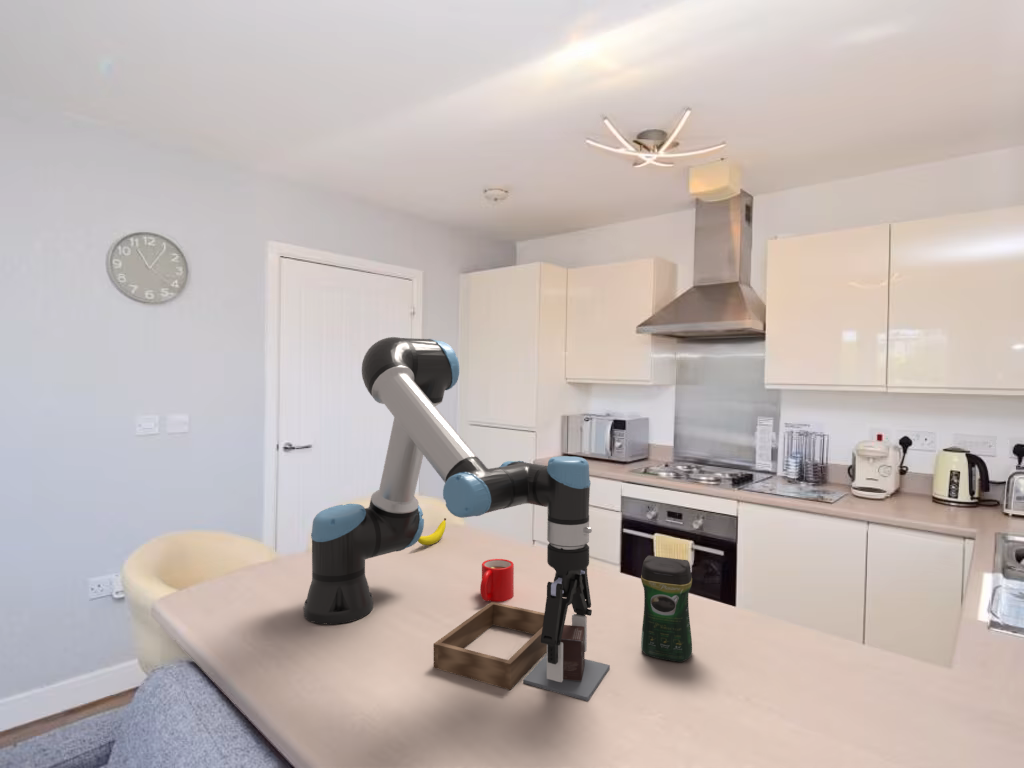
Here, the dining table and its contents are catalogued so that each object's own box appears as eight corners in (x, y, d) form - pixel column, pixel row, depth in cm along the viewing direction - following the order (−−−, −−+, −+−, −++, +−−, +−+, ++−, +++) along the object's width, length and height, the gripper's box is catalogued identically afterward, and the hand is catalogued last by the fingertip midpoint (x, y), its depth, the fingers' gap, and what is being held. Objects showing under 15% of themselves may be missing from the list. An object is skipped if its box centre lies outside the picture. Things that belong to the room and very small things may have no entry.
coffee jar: (694, 648, 113) (694, 555, 113) (689, 667, 106) (690, 568, 105) (645, 639, 117) (645, 549, 117) (637, 656, 110) (637, 560, 109)
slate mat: (523, 683, 100) (523, 679, 100) (550, 653, 111) (550, 650, 111) (587, 701, 94) (587, 697, 94) (609, 668, 105) (609, 665, 105)
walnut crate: (433, 667, 105) (433, 643, 105) (491, 622, 125) (491, 601, 124) (510, 689, 98) (510, 664, 98) (559, 637, 117) (559, 616, 117)
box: (581, 682, 99) (581, 641, 99) (547, 678, 100) (547, 637, 100) (584, 665, 105) (585, 626, 105) (552, 661, 106) (552, 622, 106)
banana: (411, 552, 173) (411, 532, 173) (441, 536, 191) (441, 517, 191) (419, 553, 172) (419, 533, 172) (449, 537, 190) (449, 518, 190)
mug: (468, 604, 134) (468, 571, 134) (490, 587, 145) (490, 557, 145) (498, 610, 131) (498, 576, 131) (518, 592, 142) (518, 561, 142)
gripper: (563, 566, 90) (562, 702, 90) (608, 530, 111) (607, 641, 111) (520, 558, 93) (520, 690, 94) (572, 525, 114) (571, 633, 115)
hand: (567, 664), depth 102 cm, fingers open, 11 cm apart
